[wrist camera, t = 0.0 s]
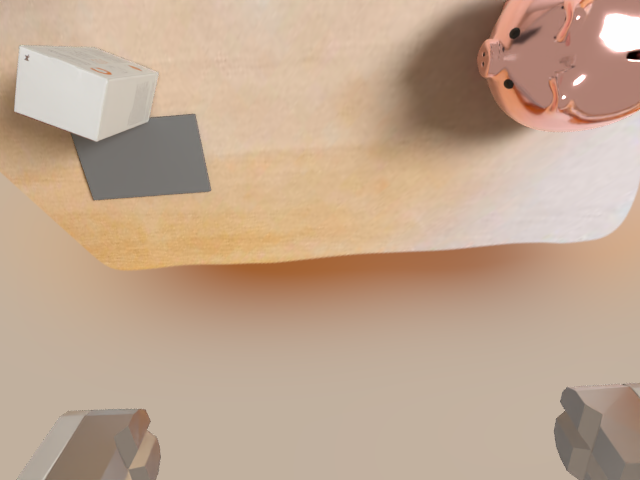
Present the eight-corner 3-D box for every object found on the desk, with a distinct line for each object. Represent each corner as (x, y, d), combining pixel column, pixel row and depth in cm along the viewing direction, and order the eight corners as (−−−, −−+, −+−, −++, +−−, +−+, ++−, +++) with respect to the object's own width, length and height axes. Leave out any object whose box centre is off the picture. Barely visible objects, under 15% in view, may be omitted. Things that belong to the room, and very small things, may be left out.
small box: (84, 99, 52) (10, 112, 40) (92, 45, 50) (16, 42, 38) (150, 123, 53) (96, 143, 41) (161, 72, 50) (108, 77, 39)
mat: (70, 124, 54) (68, 125, 53) (195, 113, 53) (193, 114, 52) (95, 198, 58) (93, 200, 58) (211, 190, 57) (210, 191, 57)
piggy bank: (464, -24, 46) (525, -46, 32) (636, -38, 45) (779, -67, 31) (454, 121, 53) (501, 156, 39) (603, 111, 52) (708, 143, 38)
